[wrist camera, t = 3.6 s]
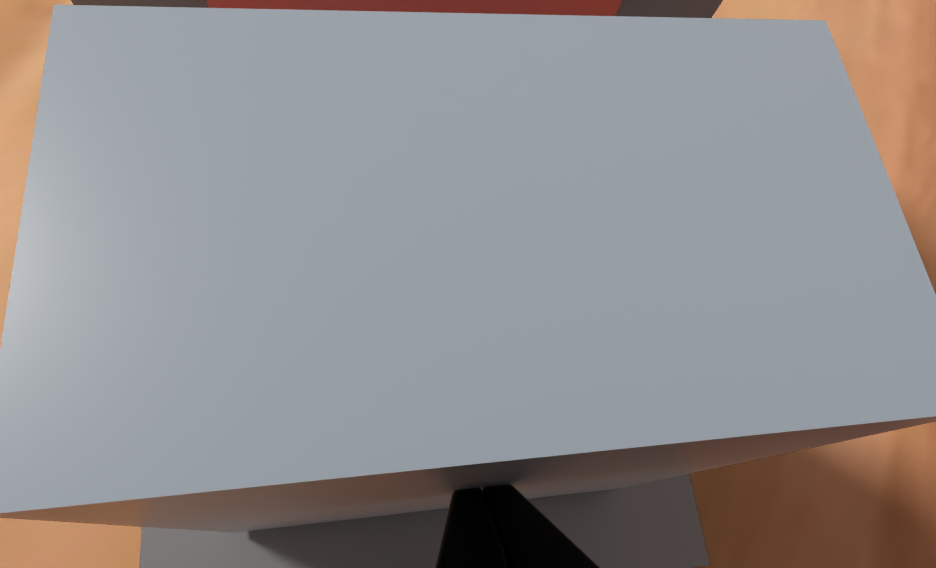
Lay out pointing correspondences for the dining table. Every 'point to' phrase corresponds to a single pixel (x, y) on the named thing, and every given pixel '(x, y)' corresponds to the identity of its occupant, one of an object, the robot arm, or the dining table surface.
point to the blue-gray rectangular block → (441, 262)
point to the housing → (420, 533)
